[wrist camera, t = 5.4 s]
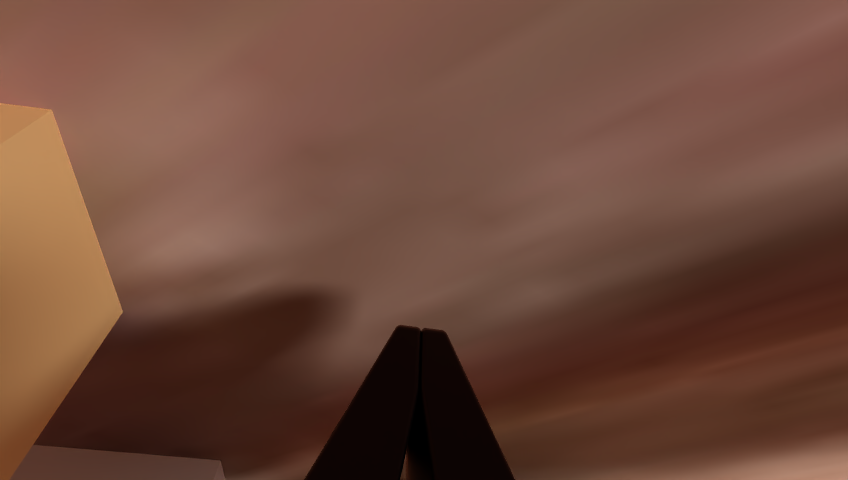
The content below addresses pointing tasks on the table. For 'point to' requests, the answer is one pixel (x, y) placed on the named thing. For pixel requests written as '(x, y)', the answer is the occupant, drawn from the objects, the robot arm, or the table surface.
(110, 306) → the mustard block
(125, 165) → the table surface
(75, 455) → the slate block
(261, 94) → the table surface
